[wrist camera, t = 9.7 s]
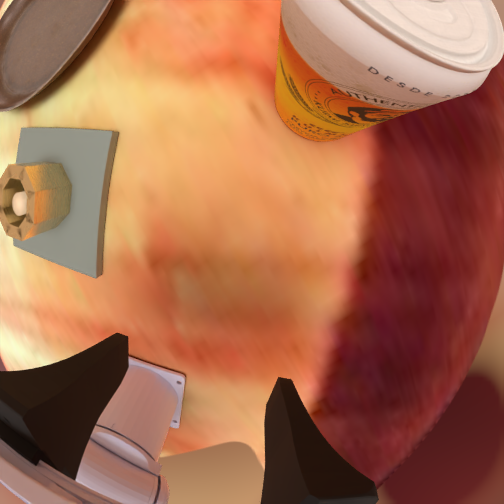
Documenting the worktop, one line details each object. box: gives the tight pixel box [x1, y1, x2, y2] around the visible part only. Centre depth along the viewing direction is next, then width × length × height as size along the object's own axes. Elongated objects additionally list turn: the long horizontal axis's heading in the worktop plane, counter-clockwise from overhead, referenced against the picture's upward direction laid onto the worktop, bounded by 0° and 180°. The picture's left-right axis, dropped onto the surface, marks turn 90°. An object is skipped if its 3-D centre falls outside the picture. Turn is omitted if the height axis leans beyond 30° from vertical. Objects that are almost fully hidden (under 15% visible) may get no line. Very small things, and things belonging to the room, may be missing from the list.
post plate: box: [12, 128, 119, 278], centre depth 17 cm, size 12×12×5 cm
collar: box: [0, 161, 72, 241], centre depth 16 cm, size 6×6×4 cm
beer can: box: [274, 0, 504, 142], centre depth 10 cm, size 6×6×15 cm
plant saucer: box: [0, 0, 114, 112], centre depth 13 cm, size 21×21×3 cm
